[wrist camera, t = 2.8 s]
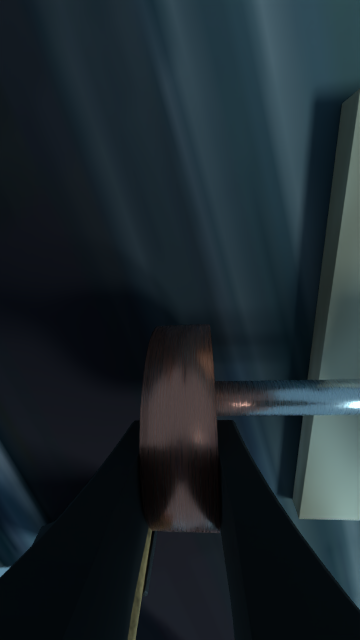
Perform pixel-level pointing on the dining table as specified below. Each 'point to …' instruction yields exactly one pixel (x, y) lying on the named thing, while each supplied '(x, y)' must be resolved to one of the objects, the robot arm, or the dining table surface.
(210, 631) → the dining table surface
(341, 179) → the eye bracket
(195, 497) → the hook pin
